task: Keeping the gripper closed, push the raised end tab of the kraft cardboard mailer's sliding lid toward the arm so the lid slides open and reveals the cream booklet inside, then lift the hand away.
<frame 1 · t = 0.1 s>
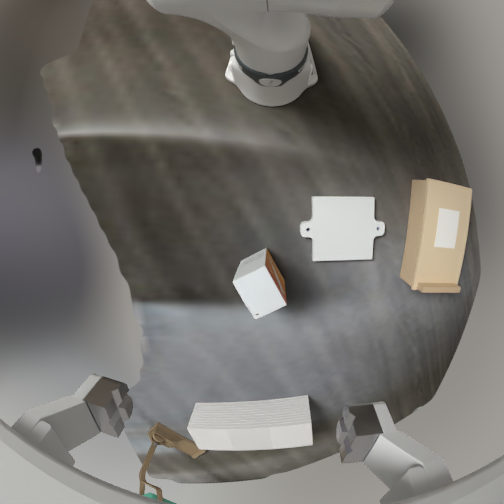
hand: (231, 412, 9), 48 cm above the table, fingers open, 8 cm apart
stack of papers: (253, 412, 69), on the table
small box: (262, 269, 58), on the table
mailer: (429, 231, 52), on the table
lid: (448, 239, 45), point 8 cm above the table, slide at 0.0 cm
banker's lamp: (179, 440, 76), on the table
mounting plate: (342, 227, 55), on the table
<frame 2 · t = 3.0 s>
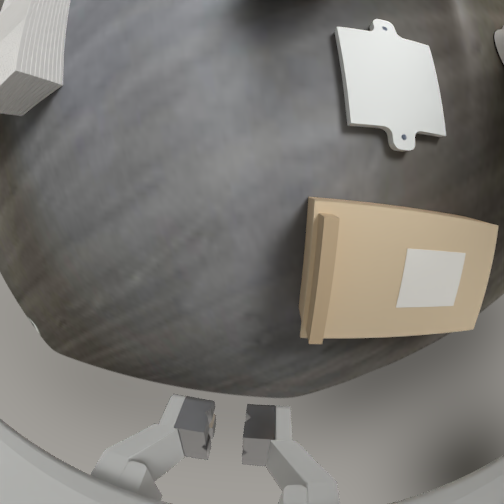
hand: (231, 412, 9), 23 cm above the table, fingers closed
stack of papers: (47, 33, 24), on the table
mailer: (391, 259, 30), on the table
lid: (422, 282, 22), point 8 cm above the table, slide at 0.0 cm
mounting plate: (389, 82, 25), on the table
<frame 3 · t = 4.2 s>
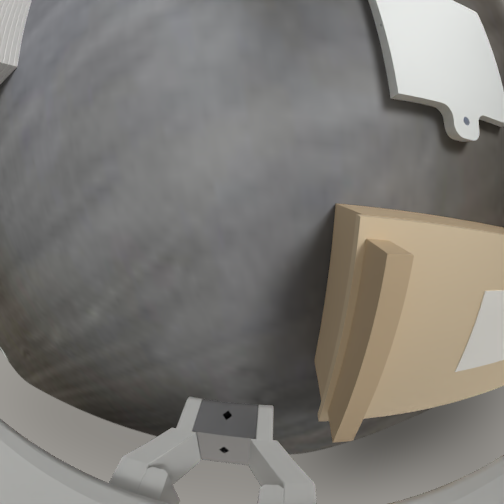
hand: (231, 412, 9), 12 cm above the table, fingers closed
stack of papers: (13, 15, 14), on the table
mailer: (442, 293, 19), on the table
lid: (495, 338, 11), point 8 cm above the table, slide at 0.0 cm
mounting plate: (437, 49, 14), on the table
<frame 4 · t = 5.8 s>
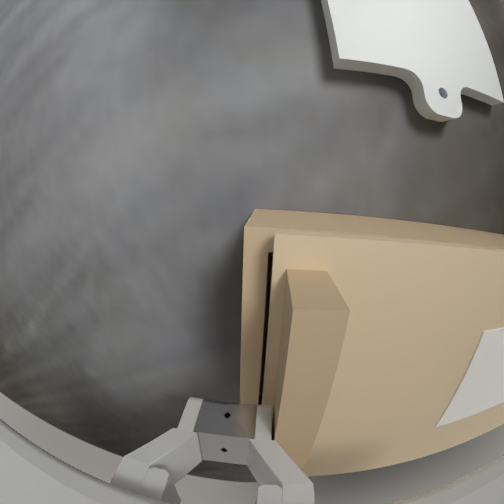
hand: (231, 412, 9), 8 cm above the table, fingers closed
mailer: (414, 320, 16), on the table
lid: (492, 388, 8), point 8 cm above the table, slide at 1.4 cm, touching gripper
mounting plate: (404, 13, 11), on the table
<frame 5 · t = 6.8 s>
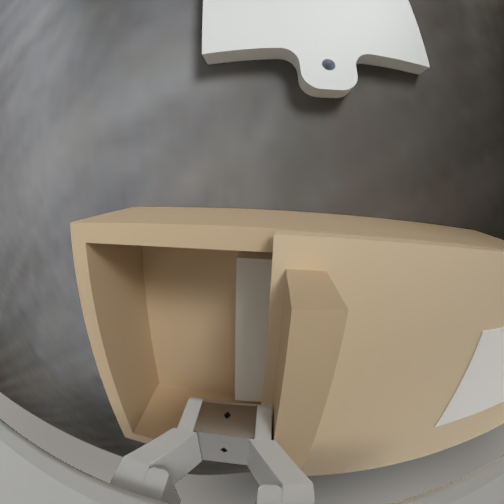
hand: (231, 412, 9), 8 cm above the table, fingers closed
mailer: (314, 321, 16), on the table
lid: (491, 388, 8), point 8 cm above the table, slide at 8.5 cm, touching gripper
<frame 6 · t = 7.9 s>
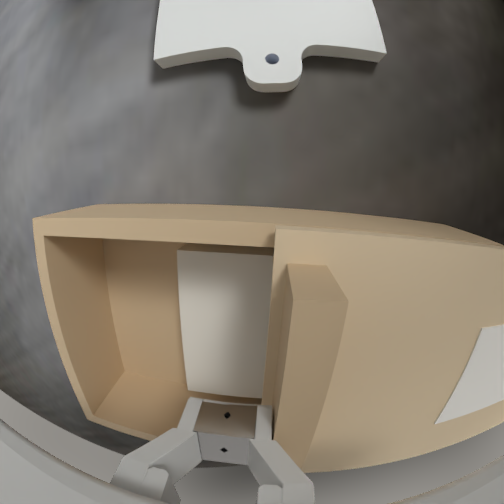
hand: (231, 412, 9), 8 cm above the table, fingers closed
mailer: (266, 316, 16), on the table
lid: (490, 385, 8), point 8 cm above the table, slide at 11.4 cm, touching gripper
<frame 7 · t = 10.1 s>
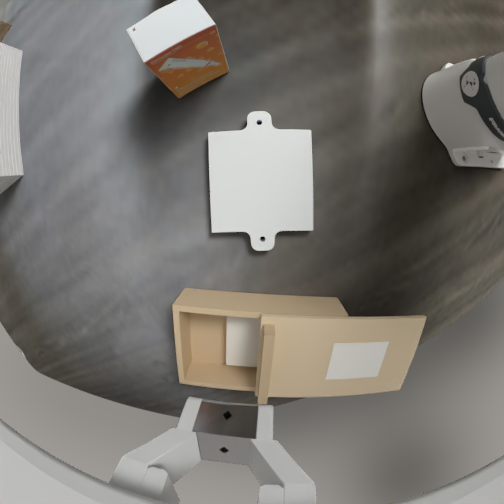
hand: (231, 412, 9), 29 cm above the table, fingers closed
stack of papers: (6, 118, 33), on the table
small box: (195, 70, 31), on the table
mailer: (258, 333, 40), on the table
lid: (345, 365, 32), point 8 cm above the table, slide at 11.4 cm
mounting plate: (261, 180, 35), on the table
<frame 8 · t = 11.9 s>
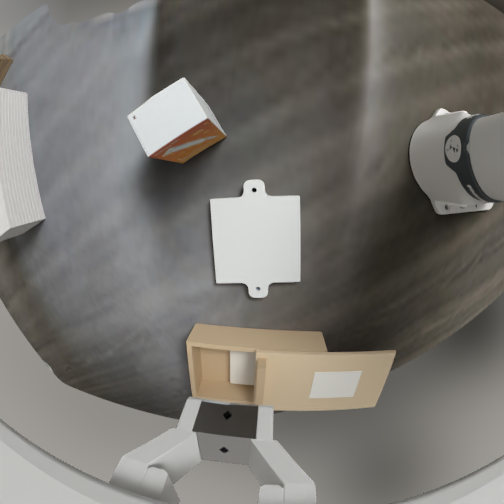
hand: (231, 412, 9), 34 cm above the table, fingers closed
stack of papers: (20, 161, 41), on the table
small box: (195, 134, 39), on the table
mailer: (256, 358, 47), on the table
lid: (324, 389, 39), point 8 cm above the table, slide at 11.4 cm
mounting plate: (257, 238, 42), on the table
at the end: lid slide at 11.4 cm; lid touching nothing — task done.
